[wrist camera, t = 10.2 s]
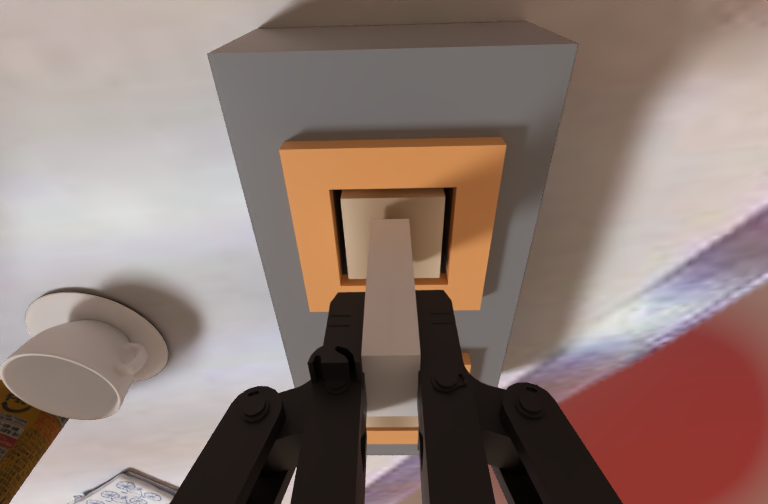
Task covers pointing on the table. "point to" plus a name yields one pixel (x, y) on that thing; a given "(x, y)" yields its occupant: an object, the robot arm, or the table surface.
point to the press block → (395, 163)
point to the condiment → (22, 440)
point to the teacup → (82, 355)
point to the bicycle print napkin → (128, 492)
